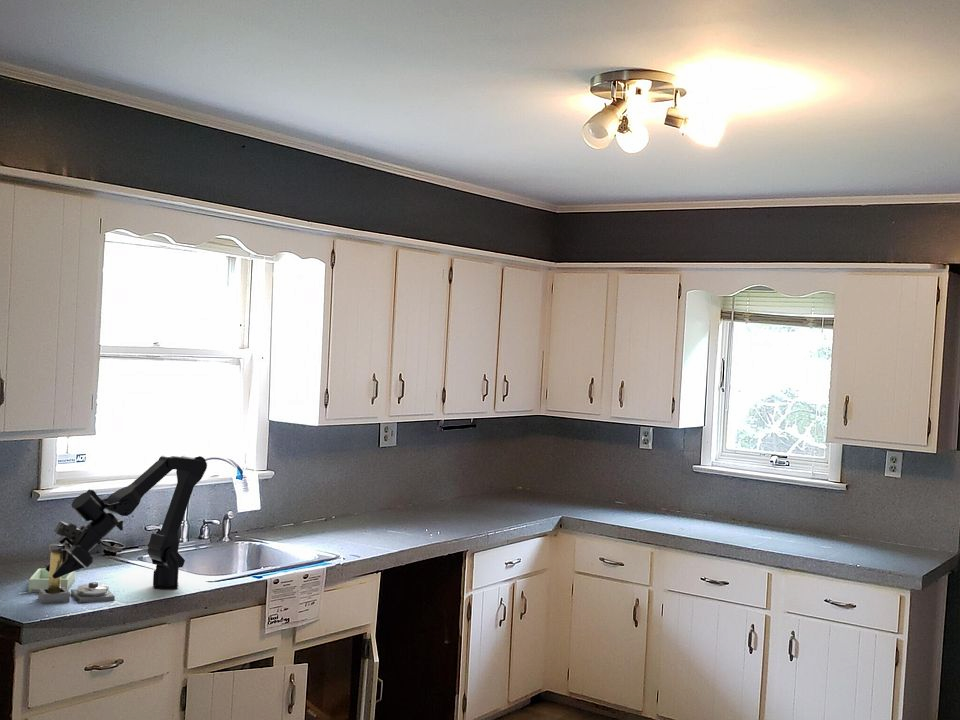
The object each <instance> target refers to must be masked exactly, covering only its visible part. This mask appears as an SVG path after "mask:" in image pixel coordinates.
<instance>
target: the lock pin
mask: <svg viewBox="0 0 960 720" xmlns="http://www.w3.org/2000/svg"><path fill="white" fill-rule="evenodd" d="M63 550H65V545H64V544H60V543H59V544H57V543H52V544H49V545H48V551H50V556H49V557H50V560H49V563H50V572H49V587H48V593H60V588H61V577H58V578H56V579H55V578H54V577H52V575H53V574H54V573H55V571H56V570H57V569H58V568H59V566H60V565H61V564H62V558H63Z"/></svg>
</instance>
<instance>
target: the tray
mask: <svg viewBox="0 0 960 720" xmlns="http://www.w3.org/2000/svg"><path fill="white" fill-rule="evenodd" d="M49 572H50V571H49ZM49 572H48V571H47V570H46V568H37V570H36V571H35V572H34V573H33V574H32V575H31V577H30V578H29V579H28V590H27V591H28V593H39V589H46V588H48V587H49ZM75 580H76V571H73V572H71V573H68V574H66V575H63V576H61V587H65V588H66V589H67V590H68V591H69V590H70V588H71V587H72V586H73V584H74V583H75Z"/></svg>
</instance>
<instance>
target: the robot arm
mask: <svg viewBox="0 0 960 720" xmlns="http://www.w3.org/2000/svg"><path fill="white" fill-rule="evenodd" d="M207 467H208V462H207V460H206V459H205V457H203V456H199V455H194V454H189V453H185V454H183V455H182V456H177V455H176V456H175V455H169V454H164V455H161V456H160V457H159V458H158V459H157V460H156V461H155V462H154V463H153V464H152V465H151V466H150V467H149V468H148V469H147V470H145V471H144V472H143V473H142V474H140V476H138V478H136V479H135V480H134V481H132V483H130V484H129V485H127V486H125V487H122V488H120V489H117V490H116V491H115V492H113V493H111V494H110V495H109V496H107V497H106V498H102V499H101V498H100V497H99V495H98V494H97V493H96V491H94V489H88V490H87V491H85V492H83V493H81V494H80V495H77V496H75V498H74V499H73V501H72V502H71V508H72V509H73V510H74V511H75V512H76V513H78V515H79V516H80V517H81V518H82V519H83V520H84V521H85V522H89V523H87V524H86V525H81V526H79V527H78V525H76V524H74V523H73V522H69V523H67V522H64V521H62V520H59V522H58V523H57V525H56V527H55V529H54V531H53V532H54V533H55V534H56V535H58V536H60V537H59V538H58V539H57V541H58V542H56V544H64V545H65V550H63V558H62V564H61V565H60V566H59V568H58V569H57V570H56V571H55V573H54V574H53V575H52V577H54V578H55V579H56V578H58V577H61V576H63V575H66V574H68V573H71V572H73V571H75V572H76V571H79V570H81V569H85V567H86V568H88V567H89V566H90V565H92V564H93V561H94V557H93V556H92V555H91V553H90V552H91V551H92V550H93V549H94V548H95V547H96V546H97V545H99V546H100V545H101V544H102V543H103V542H102V540H103V539H104V538H105V537H106V536H107V535H108V534H109V533H110V532H111V531H113V530H114V529H115V528H117V529H118V530H119V531H120V532H121V531H123V530H124V520H123V519H122V518H117V517H116V516H117V515H119V516H120V517H121V516H122V517H128V516H130V515H132V513H133V512H134V511H135V510H136V508H137V507H138V506H139V505H140V502H141V500H142V498H143V497H144V496H145V495H146V494H147V493H148V492H149V491H150V490H152V489H153V488H154V486H156V485H157V484H158V483H159V482H160V481H161V480H162V479H164V477H166V476H167V475H168V474H170V472H172V471H173V470H175V471H176V472H175V473H176V480H177V483H176V486H175V488H174V491H173V494H172V498H171V500H170V502H169V503H170V504H169V506H168V508H167V511H166V513H165V517H164V521H163V524H162V526H161V528H160V530H159V531H157V533H155V532H152V533H151V535H150V539H149V541H148V544H147V545H146V547H147V555H148V556H149V558H150V559H151V563H152V564H153V565H155V566H156V567H155V569H154V570H153V575H152V586H153V589H154V588H155V589H154V590H156V589H157V590H159V589H161V590H162V589H163V590H165V589H166V590H177V589H178V587H179V570H180V569H179V568H183V567H184V564H185V562H186V561H185V560H186V559H184V557H183V556H182V555H181V554H180V553H179V547H180V540H179V532H180V528H181V525H182V522H183V520H184V518H185V514H186V511H187V509H188V506H189V502H190V499H191V496H192V493H193V491H194V487H195V486H196V485H197V484H198V483H199V482H201V480H202V478H203V477H204V475H205V473H206V471H207ZM105 510H107V511H108V512H106V511H105ZM115 515H116V516H115ZM45 569H46V570H47V571H48V572H49V571H50V562H49V563H48V564H47V565H46V567H45Z"/></svg>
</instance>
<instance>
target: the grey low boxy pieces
mask: <svg viewBox="0 0 960 720" xmlns="http://www.w3.org/2000/svg"><path fill="white" fill-rule="evenodd" d="M37 593H38V595H37V596H38V597H37V598H38V600H39V601H40V603H42V604H43V605H47V604H60V603H70V596H72V597H73V598H74V599H75V600H76V601H77V602H78V603H79V604H85V603H97V602H99V603H100V602H109V601H110V602H111V601H115V597H116V596H115V595H114V594H113V593H112V592H111V591H110V590H109V585H108V584H103V583H98V582H94V581H93V582H88V583H86V584H85V583H84V584H80V585H78V586H77V587H76V589H73V588H72V589H71V590H70V591H69V590H67V589H66V588H65V587H61V588H60V593H48V588H46V589H39V592H37Z"/></svg>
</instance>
